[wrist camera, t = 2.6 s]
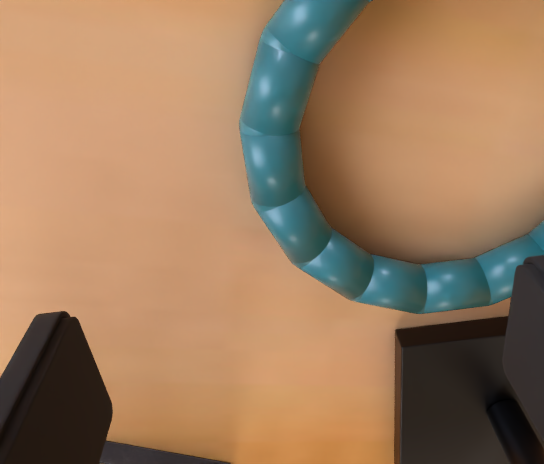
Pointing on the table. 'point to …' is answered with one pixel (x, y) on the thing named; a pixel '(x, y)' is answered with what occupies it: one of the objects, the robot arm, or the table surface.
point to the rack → (459, 398)
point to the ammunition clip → (146, 456)
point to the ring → (301, 205)
